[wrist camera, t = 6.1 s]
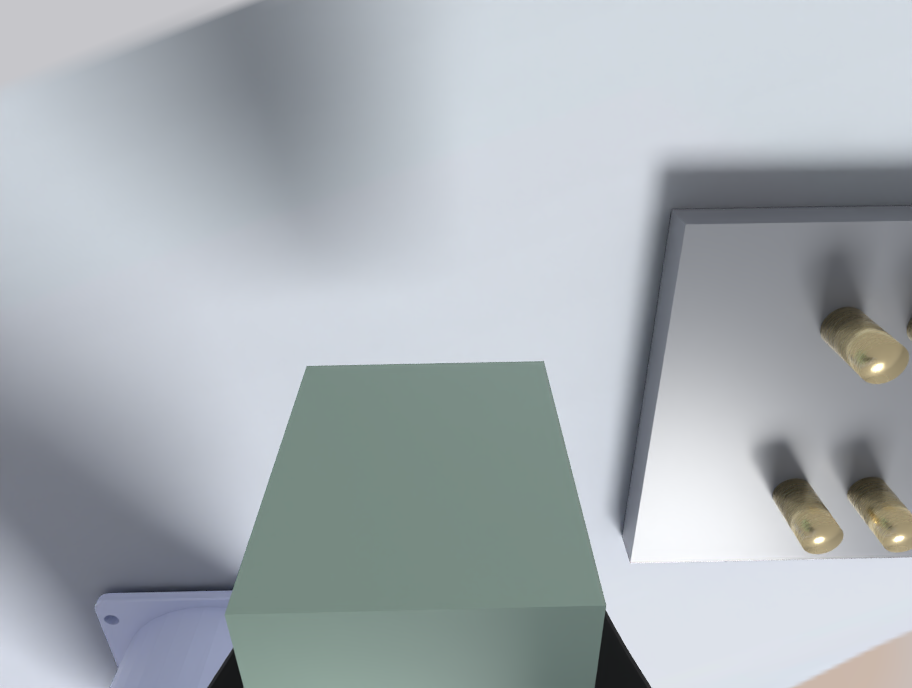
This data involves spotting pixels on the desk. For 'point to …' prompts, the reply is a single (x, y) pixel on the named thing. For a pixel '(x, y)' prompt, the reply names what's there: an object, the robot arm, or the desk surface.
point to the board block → (420, 537)
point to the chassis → (778, 389)
